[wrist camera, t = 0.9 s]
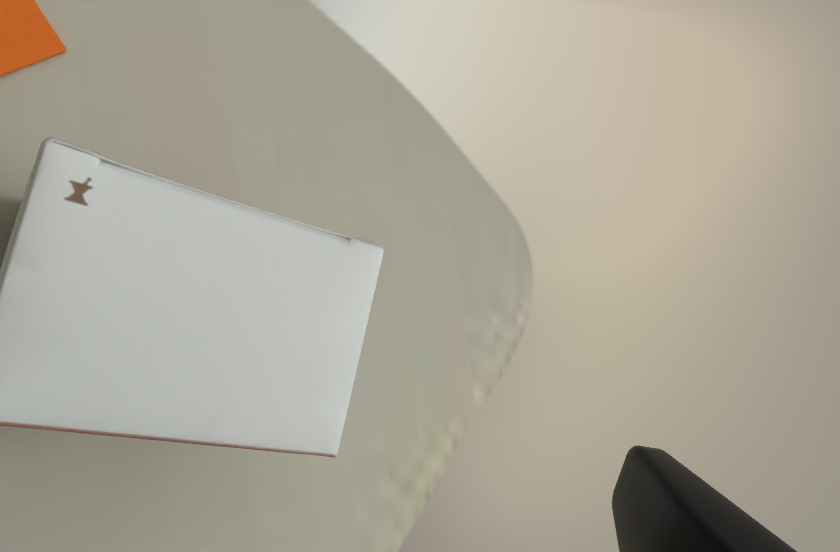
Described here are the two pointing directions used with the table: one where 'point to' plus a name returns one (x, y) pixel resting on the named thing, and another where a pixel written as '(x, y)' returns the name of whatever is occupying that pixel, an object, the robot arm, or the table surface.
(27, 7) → the orange flat block
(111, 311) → the small box
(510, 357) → the table surface
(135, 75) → the table surface
